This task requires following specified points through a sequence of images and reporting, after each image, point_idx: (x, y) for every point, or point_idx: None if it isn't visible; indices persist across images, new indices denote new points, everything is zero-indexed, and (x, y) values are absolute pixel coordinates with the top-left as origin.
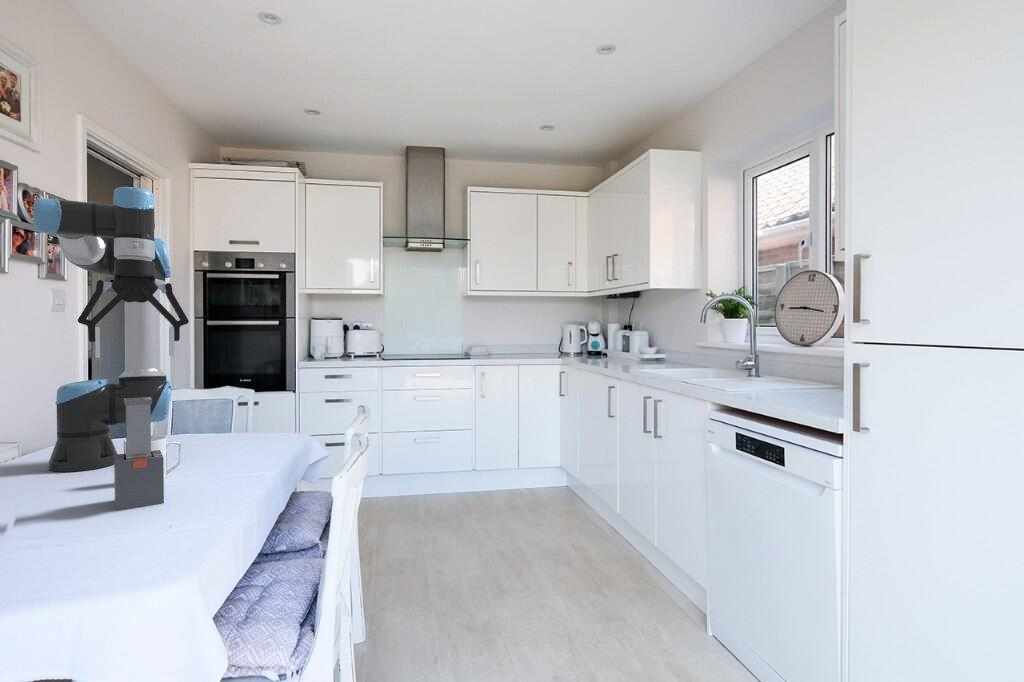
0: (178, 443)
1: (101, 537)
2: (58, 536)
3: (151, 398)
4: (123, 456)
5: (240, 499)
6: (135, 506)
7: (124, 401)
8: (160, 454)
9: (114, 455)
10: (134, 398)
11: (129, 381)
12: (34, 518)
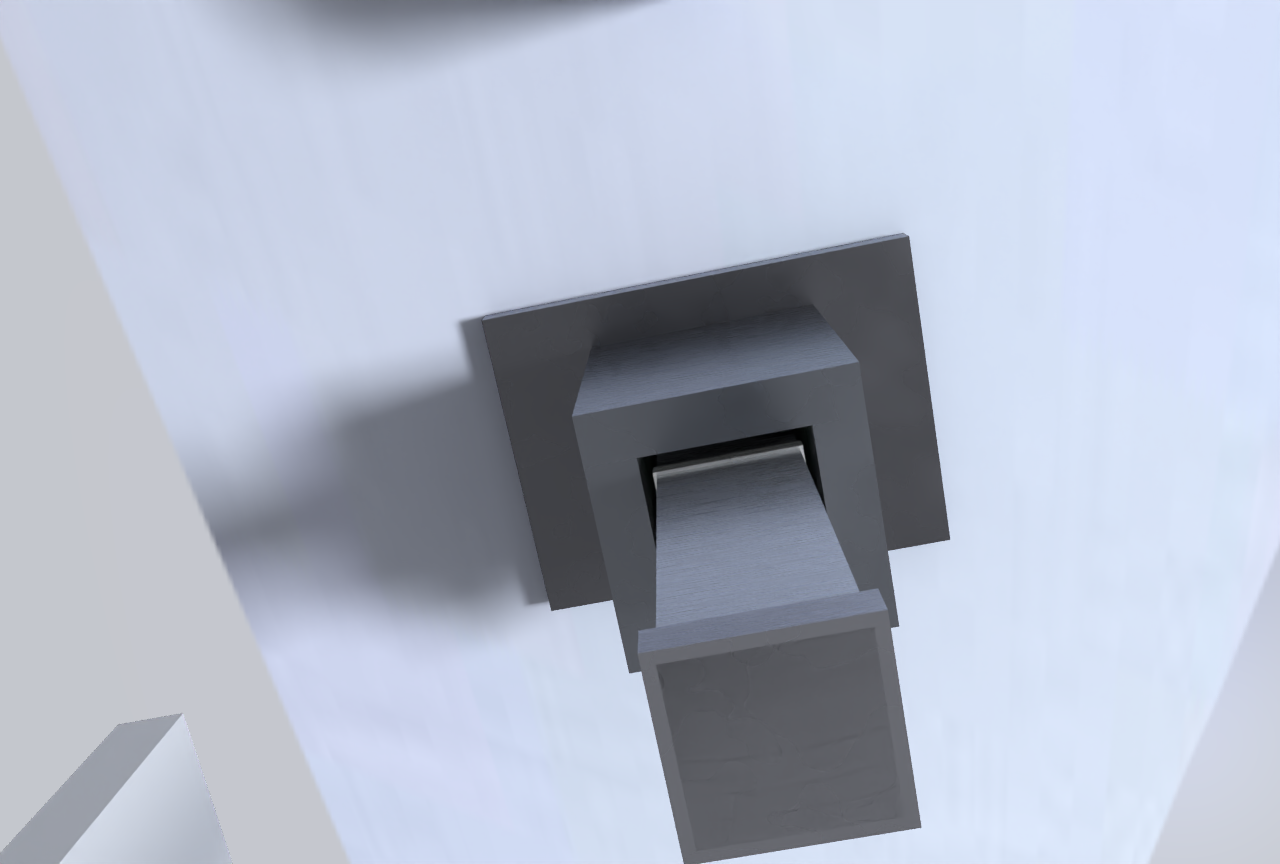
0: None
1: (636, 813)
2: (465, 735)
3: (909, 755)
4: (645, 501)
5: (1216, 484)
6: None
7: (669, 792)
8: (874, 528)
9: (580, 444)
10: (744, 695)
11: None
12: (266, 421)
